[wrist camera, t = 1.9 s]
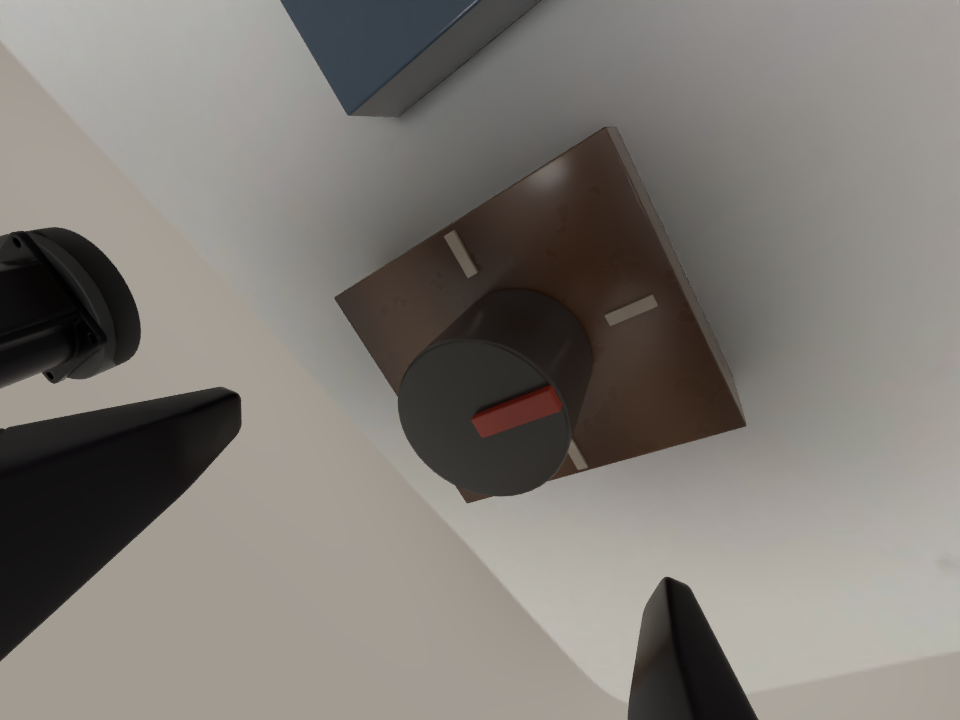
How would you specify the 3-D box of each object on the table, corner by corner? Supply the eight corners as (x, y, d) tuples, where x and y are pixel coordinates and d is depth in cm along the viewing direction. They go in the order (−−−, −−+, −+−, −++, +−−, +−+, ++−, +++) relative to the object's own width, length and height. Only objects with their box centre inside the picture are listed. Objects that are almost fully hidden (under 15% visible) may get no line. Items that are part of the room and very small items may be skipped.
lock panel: (490, 458, 21) (465, 506, 18) (377, 275, 19) (330, 299, 17) (734, 380, 16) (748, 429, 14) (616, 126, 14) (604, 126, 12)
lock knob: (497, 434, 17) (449, 521, 13) (429, 323, 16) (358, 383, 12) (618, 392, 15) (602, 481, 11) (549, 261, 14) (506, 311, 10)
